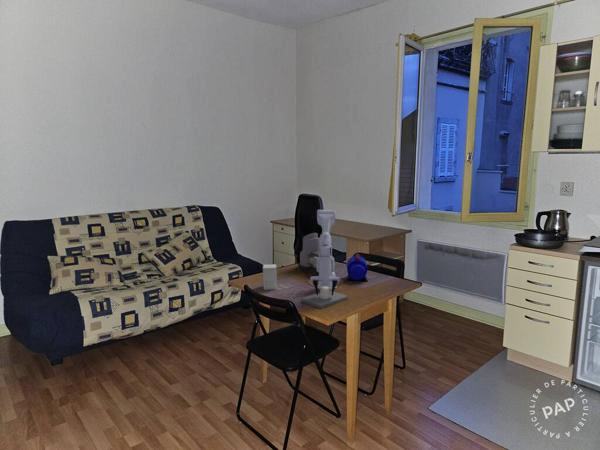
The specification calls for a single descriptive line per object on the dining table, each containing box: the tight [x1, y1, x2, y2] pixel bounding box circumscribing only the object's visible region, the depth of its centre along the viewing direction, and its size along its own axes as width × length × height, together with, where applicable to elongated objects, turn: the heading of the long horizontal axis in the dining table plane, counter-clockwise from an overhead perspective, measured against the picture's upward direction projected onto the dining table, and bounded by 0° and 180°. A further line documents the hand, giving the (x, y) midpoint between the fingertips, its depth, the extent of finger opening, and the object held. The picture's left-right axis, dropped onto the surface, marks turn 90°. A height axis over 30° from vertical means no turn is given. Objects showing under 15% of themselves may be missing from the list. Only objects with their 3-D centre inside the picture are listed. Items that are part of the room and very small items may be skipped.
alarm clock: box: [346, 253, 369, 283], centre depth 248 cm, size 12×12×15 cm
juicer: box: [296, 232, 337, 276], centre depth 266 cm, size 30×16×24 cm, turn 33°
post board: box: [300, 289, 349, 309], centre depth 213 cm, size 20×14×5 cm
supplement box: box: [262, 264, 278, 291], centre depth 233 cm, size 7×7×13 cm
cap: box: [319, 286, 330, 299], centre depth 213 cm, size 5×5×5 cm
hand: (324, 294), depth 213 cm, fingers open, 7 cm apart
